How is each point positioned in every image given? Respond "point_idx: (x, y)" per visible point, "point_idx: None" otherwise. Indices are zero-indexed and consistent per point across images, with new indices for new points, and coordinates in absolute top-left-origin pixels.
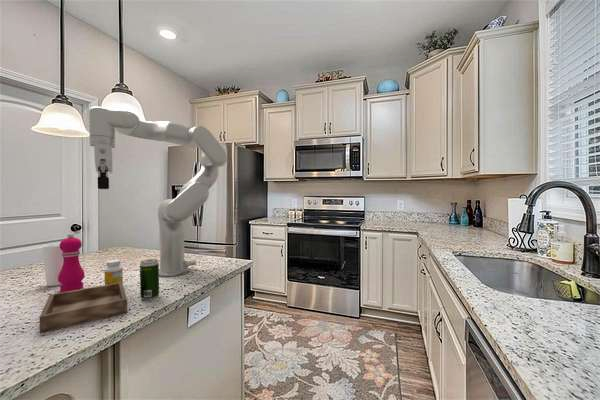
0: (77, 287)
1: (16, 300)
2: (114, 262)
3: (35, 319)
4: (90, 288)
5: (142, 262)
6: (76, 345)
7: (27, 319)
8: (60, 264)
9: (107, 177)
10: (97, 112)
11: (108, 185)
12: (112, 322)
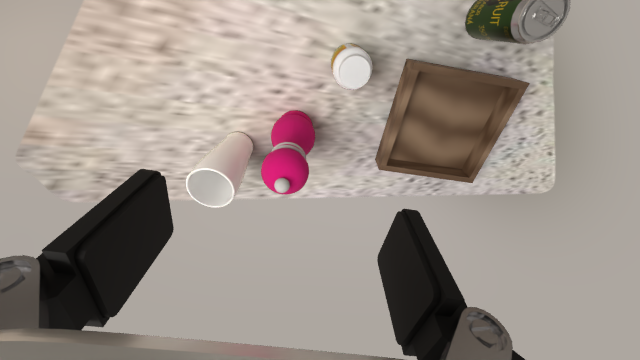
0: (311, 122)
1: None
2: (370, 73)
3: (408, 174)
4: (401, 119)
5: (521, 33)
6: (540, 147)
7: (399, 180)
8: (243, 158)
9: (477, 311)
10: None
11: (424, 230)
12: (522, 104)
